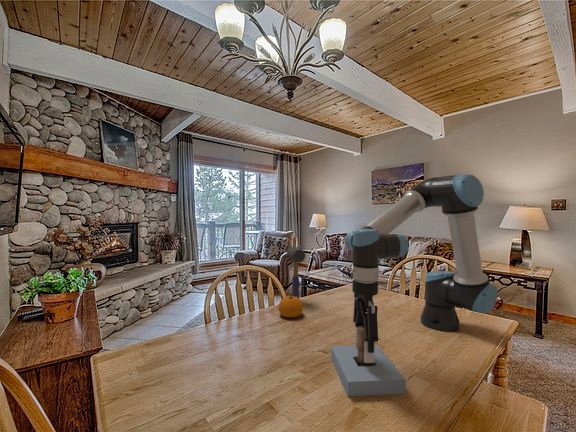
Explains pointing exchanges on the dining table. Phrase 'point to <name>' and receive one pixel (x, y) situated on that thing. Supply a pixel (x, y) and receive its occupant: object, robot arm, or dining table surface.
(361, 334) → the peg
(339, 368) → the seat board
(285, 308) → the fruit
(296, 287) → the rubber mallet
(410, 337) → the dining table surface
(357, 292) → the robot arm
